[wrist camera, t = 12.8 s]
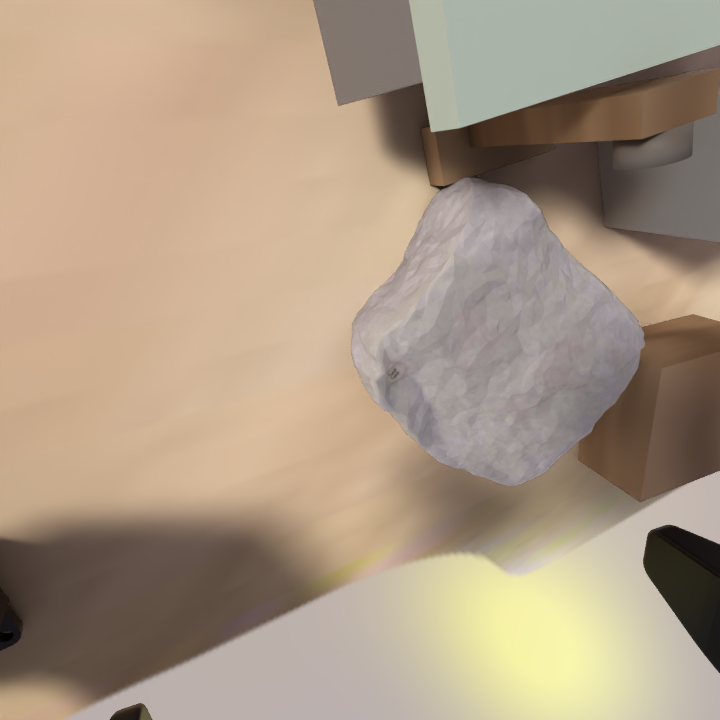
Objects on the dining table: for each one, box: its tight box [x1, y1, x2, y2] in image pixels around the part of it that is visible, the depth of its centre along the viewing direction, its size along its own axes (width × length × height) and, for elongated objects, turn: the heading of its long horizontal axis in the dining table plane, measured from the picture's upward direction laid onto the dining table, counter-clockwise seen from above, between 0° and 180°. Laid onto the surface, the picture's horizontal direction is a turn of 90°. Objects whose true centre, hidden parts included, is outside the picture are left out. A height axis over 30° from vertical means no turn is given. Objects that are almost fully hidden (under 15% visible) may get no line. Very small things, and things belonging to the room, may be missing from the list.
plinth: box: [578, 315, 720, 502], centre depth 26 cm, size 7×7×4 cm
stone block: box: [351, 177, 645, 486], centre depth 22 cm, size 12×5×10 cm
